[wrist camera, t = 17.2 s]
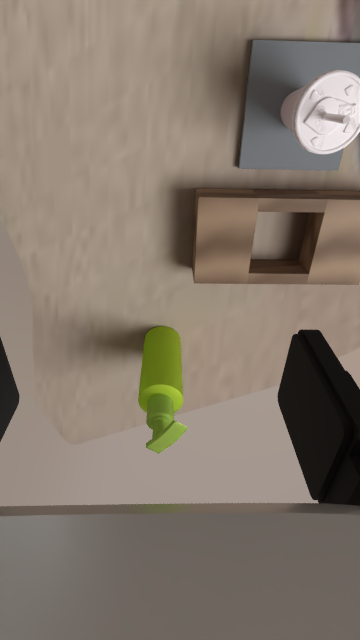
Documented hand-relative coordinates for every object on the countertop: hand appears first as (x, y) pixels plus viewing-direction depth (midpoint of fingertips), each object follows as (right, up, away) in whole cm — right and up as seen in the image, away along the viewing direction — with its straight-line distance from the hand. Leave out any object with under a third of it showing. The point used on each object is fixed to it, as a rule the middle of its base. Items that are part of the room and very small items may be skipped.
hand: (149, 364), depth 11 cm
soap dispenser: (-2, -2, +45) cm, 45 cm away
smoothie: (+14, +25, +27) cm, 39 cm away
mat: (+14, +25, +27) cm, 40 cm away
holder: (+14, +13, +35) cm, 40 cm away
